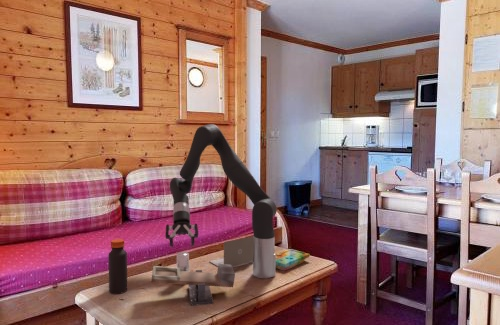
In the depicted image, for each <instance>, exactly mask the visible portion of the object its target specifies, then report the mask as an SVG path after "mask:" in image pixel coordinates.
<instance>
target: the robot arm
mask: <svg viewBox="0 0 500 325" xmlns="http://www.w3.org/2000/svg"><path fill="white" fill-rule="evenodd" d="M192 138H193V139H192V142H191V145H190V148H189V152H188V153H187V154H188V155H187V157H186V159H185V161H184V163H183V164H182V166H181V169H180V171H179V176H180V177H173V178H172V179H170V182H169V190H170V193H171V196H172V199H173V210H172V215H173V216H172V217H173V218H172V220H173V221H172V225H169V224H166V225H165V235H164V236H165V240H169V246H170V248H174V239H175V238H176V236H177V235H178V236H181V235H182V236H185V235H186V236H188V237H189V238H190V246H191V247H194V246H195V242H196V241H195V239H198V238H199V229H198V228H199V227H198V223H194V224H191V217H190V216H191V215H190V213H191V212H190V202H189V196H188V194H189V193H190V192H191V191H192V186H193V182H194V179H195V178H194V177H195V176H196V174H197V172H198V170H199V167H200V166H201V165H200V164H201V156H202V154H203V152H204V151H205V149H206V148H207V147H210V146H212V147H213V148H214V149H215V151H216V152H217V154H218V156H219V158H220V161H221V162H220V163H221V166H222V171H223V172H224V173H225V175H226V177H227V178H228V180H230V182H231V184H232V185H234V186H235V187H236V188H237V189H238V190H240V191H241V192H242V193H243V194H244V195H245V196H247V197H248V198H249V200H250V202H251V203H252V204H253V207H252V211H251V222H252V223H251V227H252V232H253V236H254V244H253V262H252V275H253V277H255V278H259V279H270V278H273V277H276V269H277V268H276V255H275V254H276V253H275V243H276V242H275V241H276V240H275V239H276V238H275V237H276V235H275V234H276V233H275V232H276V231H275V229H274V217H275V216H276V214H277V211H278V210H277V209H278V208H277V204H276V203H275V202H274V200H273V199H272V198H271V197H270V196H269V195H268V194H267V193H266V191H264V189H263V187H261V186H260V185H259V183H258V182H257V180H256V179H255V177H254V176H253V175H252V173H251V172H250V171H249V169H248V168H247V166H246V165H245V164H244V163H243V161H242V160H241V159H240V157H239V156H238V155H237V154H236V152H235V151H234V149H233V148H232V146H231V144H229V141H228V140H227V139H226V137H225V135H224V134H223V132H222V131H221V128H220V127H218V126H217V125H216V124H213V123H210V124H204V125H201V126H199V127H197V129H196V130H195V133H194V135H193V137H192ZM191 229H192V230H194V233H193V232H192V230H191ZM171 230H173V231H172V232H171V233H170V231H171ZM169 233H170V234H169Z"/></svg>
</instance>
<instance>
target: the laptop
mask: <svg viewBox="0 0 500 325" xmlns="http://www.w3.org/2000/svg"><path fill="white" fill-rule="evenodd" d="M253 244H254V235H253V236H252V235H251V236H248V237H243V238H238V239H233V240H228V241H224V242H223V257H221V258H217V259H214V260H212V259H211V260H210V261H209V263H211V264H213V265H215V266H216V267H218V264H229V265H231V266H232V268H235V267H239V266H240V267H241V266H244V265H248V264H251V263H252V264H253Z"/></svg>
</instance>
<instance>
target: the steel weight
mask: <svg viewBox="0 0 500 325" xmlns="http://www.w3.org/2000/svg"><path fill="white" fill-rule="evenodd" d="M176 268H180V271H189V272H190V253H189V252H187V251H179V252H177V253H176ZM179 285H181V286H182V285H185V284H179Z"/></svg>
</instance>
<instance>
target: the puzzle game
mask: <svg viewBox="0 0 500 325" xmlns="http://www.w3.org/2000/svg"><path fill="white" fill-rule="evenodd" d="M274 254H275V255H276V268H275V269H278V270H281V271H285V272H286V271H287V270H289V269H291V268H294V267H296V266H299V265H300V264H302V263H304V262H305V260H307V259H308V258H310V253H308V252H307V253H306V252H304V251H299V250H296V249H292V248H289V249H286V250H284V251H281V252H278V253H274Z"/></svg>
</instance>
